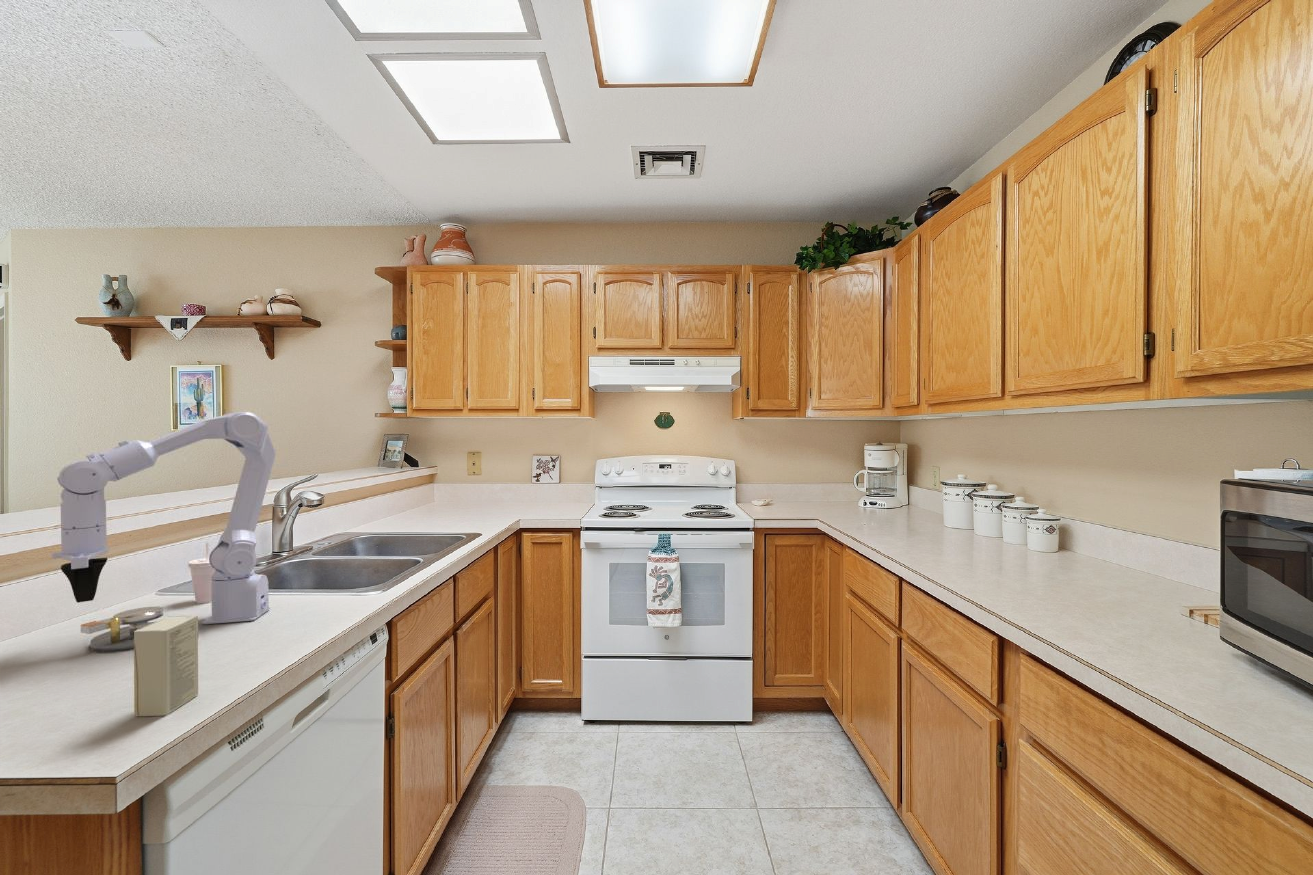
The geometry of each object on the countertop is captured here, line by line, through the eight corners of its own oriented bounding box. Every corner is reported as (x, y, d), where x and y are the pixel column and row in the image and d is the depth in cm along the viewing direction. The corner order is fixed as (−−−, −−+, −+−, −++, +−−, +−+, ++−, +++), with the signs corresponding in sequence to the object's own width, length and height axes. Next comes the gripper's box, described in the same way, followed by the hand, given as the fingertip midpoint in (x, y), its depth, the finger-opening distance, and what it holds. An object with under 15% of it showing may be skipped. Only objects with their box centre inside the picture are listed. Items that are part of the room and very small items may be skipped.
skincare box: (168, 696, 81) (168, 615, 81) (200, 695, 82) (199, 614, 82) (132, 718, 75) (131, 630, 75) (166, 716, 75) (165, 629, 75)
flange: (147, 611, 109) (147, 604, 109) (172, 614, 107) (172, 607, 107) (72, 631, 98) (72, 623, 98) (98, 635, 96) (98, 627, 96)
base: (198, 624, 112) (197, 596, 112) (158, 648, 100) (157, 617, 100) (121, 630, 109) (121, 601, 109) (70, 655, 96) (70, 623, 96)
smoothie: (203, 606, 124) (202, 545, 124) (180, 604, 125) (180, 544, 125) (230, 597, 130) (230, 539, 130) (208, 596, 132) (208, 538, 132)
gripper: (58, 524, 102) (59, 596, 102) (44, 535, 91) (45, 615, 91) (111, 520, 107) (112, 588, 107) (104, 529, 96) (105, 606, 96)
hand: (85, 600), depth 99 cm, fingers closed
